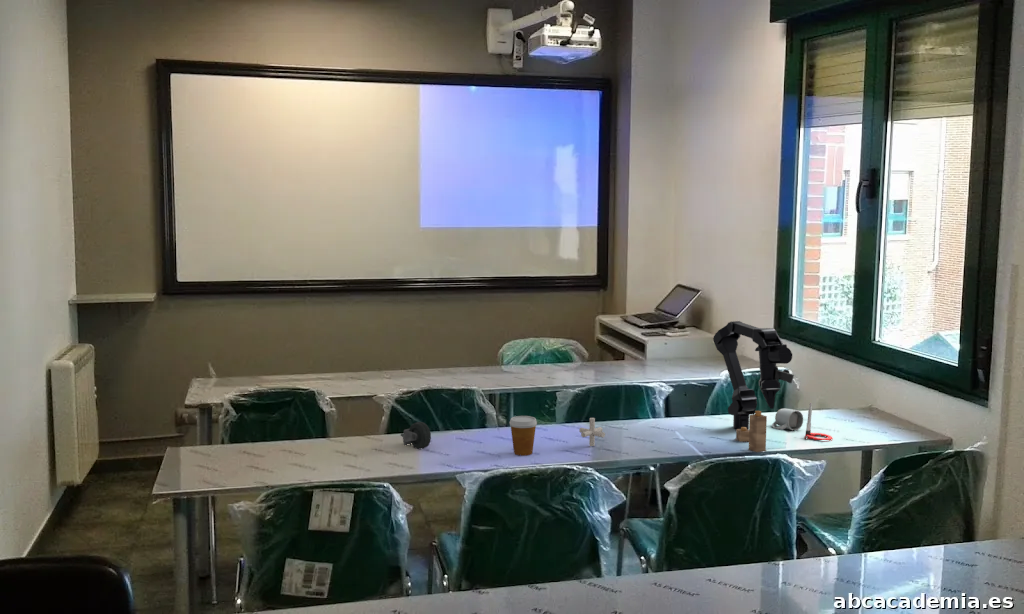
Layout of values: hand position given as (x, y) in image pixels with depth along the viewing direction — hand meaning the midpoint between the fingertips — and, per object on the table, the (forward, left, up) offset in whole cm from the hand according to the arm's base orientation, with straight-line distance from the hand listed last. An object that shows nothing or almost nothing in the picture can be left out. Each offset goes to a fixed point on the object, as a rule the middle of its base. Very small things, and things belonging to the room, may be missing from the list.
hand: (770, 407), depth 315 cm
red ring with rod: (-3, +20, -13) cm, 24 cm away
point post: (+12, -9, -12) cm, 20 cm away
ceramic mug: (-17, +13, -13) cm, 25 cm away
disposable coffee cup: (+5, -89, -13) cm, 91 cm away
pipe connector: (-1, -64, -13) cm, 66 cm away
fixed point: (-1, -9, -12) cm, 15 cm away
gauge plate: (+6, -9, -13) cm, 17 cm away
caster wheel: (-8, -126, -13) cm, 127 cm away
